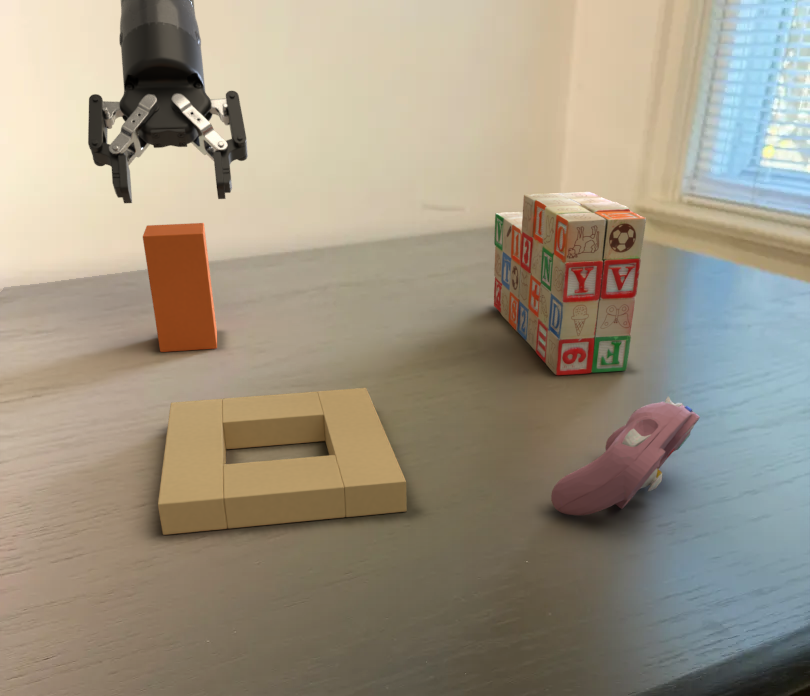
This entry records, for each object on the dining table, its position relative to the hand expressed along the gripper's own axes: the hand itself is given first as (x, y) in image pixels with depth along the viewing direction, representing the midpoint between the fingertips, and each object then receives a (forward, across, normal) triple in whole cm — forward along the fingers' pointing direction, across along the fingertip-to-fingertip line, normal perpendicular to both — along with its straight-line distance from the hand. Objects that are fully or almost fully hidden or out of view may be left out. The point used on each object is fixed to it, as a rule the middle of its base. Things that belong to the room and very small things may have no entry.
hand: (173, 195), depth 81 cm
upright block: (+13, 0, -4) cm, 13 cm away
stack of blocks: (+17, -33, 0) cm, 37 cm away
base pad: (+34, -6, +17) cm, 38 cm away
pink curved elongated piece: (+40, -27, +23) cm, 53 cm away
